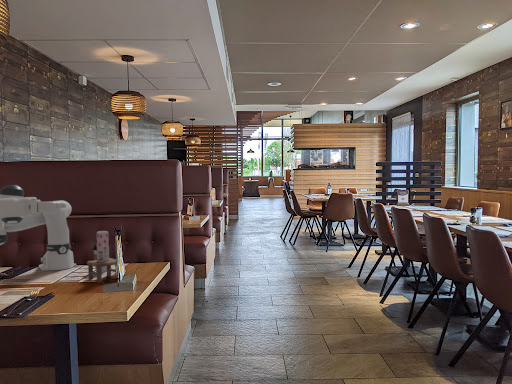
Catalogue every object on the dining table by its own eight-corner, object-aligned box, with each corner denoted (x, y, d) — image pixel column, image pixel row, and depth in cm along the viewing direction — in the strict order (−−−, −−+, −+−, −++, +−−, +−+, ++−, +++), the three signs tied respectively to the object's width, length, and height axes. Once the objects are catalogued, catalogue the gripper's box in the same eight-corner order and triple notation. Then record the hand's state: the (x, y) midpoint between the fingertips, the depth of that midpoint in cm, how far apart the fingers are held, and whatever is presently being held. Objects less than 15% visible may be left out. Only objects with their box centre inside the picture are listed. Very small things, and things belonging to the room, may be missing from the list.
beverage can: (107, 259, 205) (106, 230, 205) (110, 261, 200) (109, 231, 200) (95, 261, 201) (94, 231, 201) (99, 262, 197) (98, 232, 197)
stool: (87, 279, 201) (87, 261, 201) (110, 274, 210) (109, 257, 210) (98, 282, 193) (97, 264, 193) (121, 278, 202) (120, 260, 201)
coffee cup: (112, 269, 223) (111, 243, 222) (105, 273, 214) (104, 245, 214) (98, 269, 223) (97, 243, 223) (90, 273, 215) (89, 245, 215)
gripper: (31, 212, 195) (62, 210, 202) (33, 214, 177) (67, 212, 184) (31, 199, 194) (62, 198, 202) (32, 200, 177) (67, 199, 184)
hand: (64, 205), depth 193 cm, fingers open, 8 cm apart
